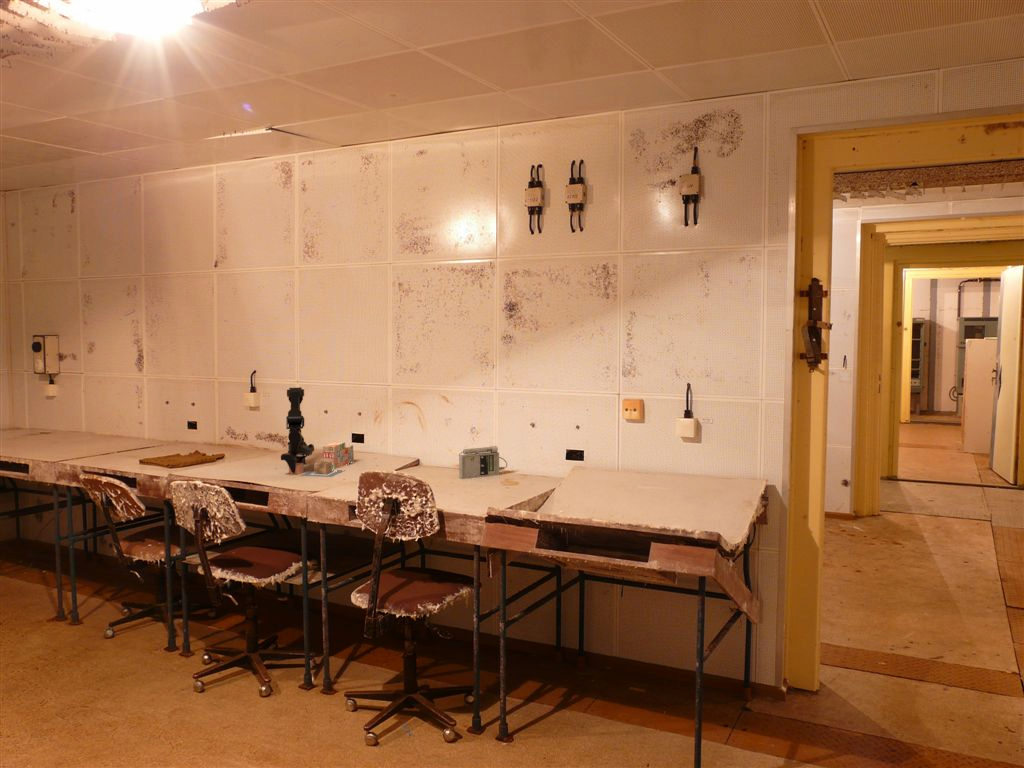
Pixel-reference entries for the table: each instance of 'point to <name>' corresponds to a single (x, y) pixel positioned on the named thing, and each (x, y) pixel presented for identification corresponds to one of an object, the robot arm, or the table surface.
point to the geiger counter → (479, 462)
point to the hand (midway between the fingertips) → (296, 471)
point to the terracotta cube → (297, 469)
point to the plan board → (333, 473)
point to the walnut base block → (323, 467)
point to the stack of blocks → (338, 454)
